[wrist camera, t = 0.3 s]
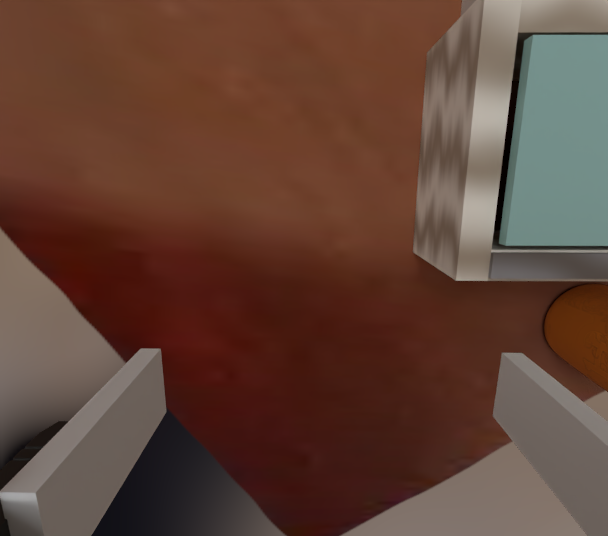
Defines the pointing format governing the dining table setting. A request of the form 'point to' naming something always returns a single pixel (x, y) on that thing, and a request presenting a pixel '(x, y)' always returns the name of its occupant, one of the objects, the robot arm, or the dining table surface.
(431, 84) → the crate
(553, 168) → the trapdoor
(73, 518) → the robot arm
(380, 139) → the dining table surface
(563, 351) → the wine bottle
